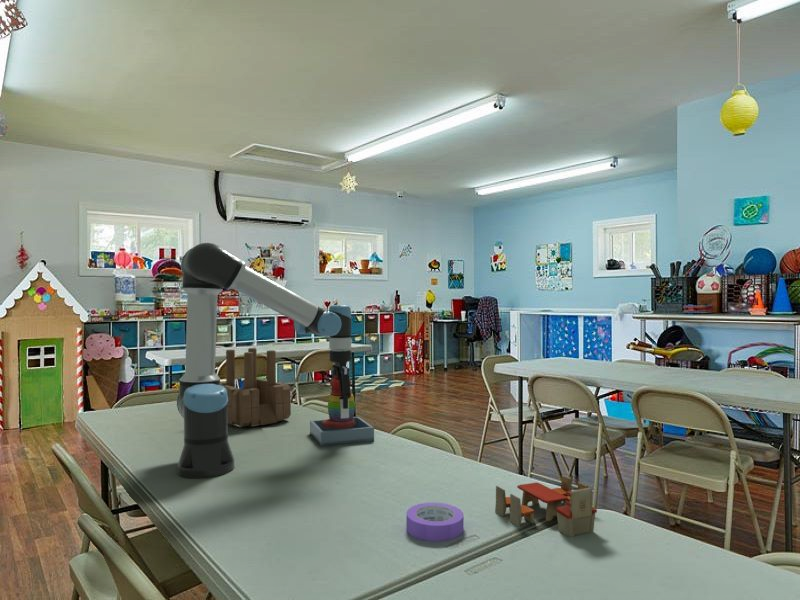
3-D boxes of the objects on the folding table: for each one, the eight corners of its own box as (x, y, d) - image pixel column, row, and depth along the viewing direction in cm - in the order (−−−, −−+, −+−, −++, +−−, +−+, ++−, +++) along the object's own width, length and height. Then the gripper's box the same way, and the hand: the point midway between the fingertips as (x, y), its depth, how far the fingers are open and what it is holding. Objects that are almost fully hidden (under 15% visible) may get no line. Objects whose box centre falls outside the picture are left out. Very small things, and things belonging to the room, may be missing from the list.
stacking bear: (341, 420, 193) (341, 370, 193) (362, 424, 186) (362, 373, 186) (319, 425, 185) (318, 374, 184) (339, 430, 178) (339, 376, 178)
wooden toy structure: (241, 428, 198) (241, 355, 198) (207, 416, 220) (207, 349, 220) (295, 419, 214) (294, 350, 214) (258, 408, 236) (257, 346, 236)
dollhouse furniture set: (560, 500, 127) (559, 458, 127) (621, 531, 109) (621, 483, 109) (490, 513, 119) (490, 468, 119) (544, 549, 102) (544, 497, 102)
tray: (374, 440, 180) (374, 427, 180) (321, 446, 174) (320, 432, 174) (358, 428, 197) (358, 416, 197) (310, 433, 190) (309, 420, 190)
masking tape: (474, 530, 110) (474, 511, 110) (440, 550, 102) (439, 530, 102) (430, 515, 118) (430, 498, 118) (394, 532, 110) (394, 514, 110)
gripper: (360, 352, 176) (360, 420, 176) (342, 346, 197) (343, 408, 197) (337, 353, 173) (338, 422, 174) (322, 347, 194) (323, 409, 194)
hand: (341, 414), depth 185 cm, fingers closed on stacking bear, 9 cm apart
